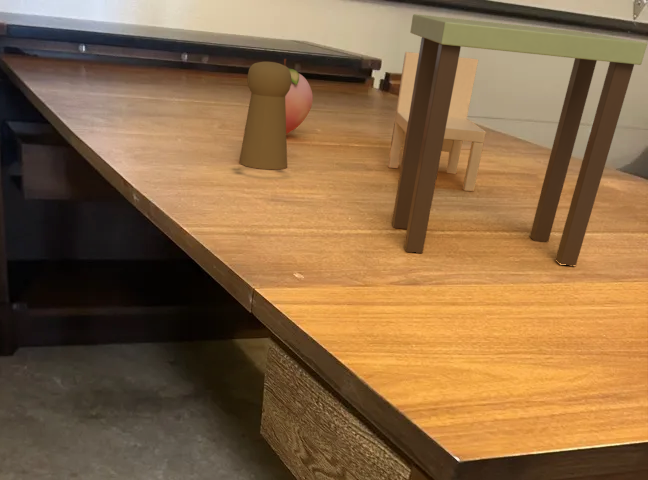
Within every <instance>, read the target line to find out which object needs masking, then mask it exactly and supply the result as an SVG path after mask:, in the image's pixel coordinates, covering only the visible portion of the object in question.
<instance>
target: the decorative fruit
mask: <svg viewBox="0 0 648 480" xmlns="http://www.w3.org/2000/svg"><path fill="white" fill-rule="evenodd" d="M283 65H284V66H286V67H287V58H283ZM289 71H290V73H291V79H292V80H291V87H290V90H289V92H288V93H287V95H286V96H285V106H286V135H287V134H290V133H291V132H293V131H294V130H296V129H297V128H298V127H299V126H300V125H301V124H302V123H303V122H304V121H305V119H306V118H307V117H308V115H309V114H310V111H311V109H312V106H313V101H314V94H313V91H312V87H311V85H310V84H309V82H308V80H307V79H306V77H305V76H303V75H302V74H301V73H299V72H298V70H296V69H293V68H289Z"/></svg>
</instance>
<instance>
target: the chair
mask: <svg viewBox="0 0 648 480" xmlns="http://www.w3.org/2000/svg"><path fill="white" fill-rule="evenodd" d="M418 57H419V52H413V51H405V52H404V58H403V64H402V69H401V70H402V71H401V77H400V84H399V90H398V95H397V96H398V97H397V102H396V110H395V115H394V123H393V129H392V136H391V142H390V148H389V154H388V155H389V156H388V162H387V167H388V168H390V169H391V168H392V169H398V168H399V164H400V157H401V151H402V148H403V149H404V144H405V138H406V132H407V125H408V119H409V113H410V107H411V101H412V95H413V88H414V82H415V76H416V70H417V64H418ZM478 64H479V59H478V58H472V57H471V58H470V57H461V56H459V59H458V65H457V70H456V75H455V81H454V86H453V92H452V97H451V102H450V108H449V113H448V119H447V124H446V129H445V135H444V140H443V146H442V151H441V152H444V153H445V152H446V153H448V158H447V164H446V167H445V169H446V170H445V173H447V174H453V175H456V174H457V172H458V167H459V162H460V157H461V153H462V147H463V142H471V145H470V149H469V154H468V159H467V163H466V164H467V165H466V167H465V174H464V179H463V184H462V190H463V191H464V192H474V191H475V187H476V183H477V179H478V175H479V169H480V164H481V159H482V154H483V150H484V145H485V141H486V135H487V131H486V130H485V129H483V128H482V127H480V126H478V124H476V123H474V122H473V121H472V120H470V119H468V115H469V110H470V104H471V100H472V94H473V89H474V86H475V85H474V84H475V79H476V75H477V74H476V73H477V69H478Z"/></svg>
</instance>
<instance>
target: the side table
mask: <svg viewBox="0 0 648 480" xmlns="http://www.w3.org/2000/svg"><path fill="white" fill-rule="evenodd" d="M411 18H412V19H411V26H410V34H412V35H415V36H418V37H420V39H421V40H420V45H419V52H418V53H419V57H418V64H417V70H416V76H415V82H414V88H413V95H412V101H411V107H410V113H409V119H408V125H407V132H406V138H405V144H404V148H403V150H402V156H401V157H402V158H401V163H400V164H401V165H400V169H399V175H398V182H397V189H396V194H395V201H394V207H393V213H392V219H391V225H392V227H393V228H394V229H402V230H406V233H405V237H404V238H405V239H404V245H403V248H404V250H405V252H406V253H412V252H416V253H415V254H422V253H423V252H424V247H425V244H426V243H425V242H426V236H427V233H428V232H427V231H428V227H429V221H430V216H431V215H430V214H431V210H432V204H433V199H434V193H435V187H436V183H437V178H438V172H439V167H440V161H441V156H442V152H443V151H442V146H443V140H444V135H445V129H446V124H447V119H448V113H449V108H450V102H451V97H452V92H453V86H454V81H455V75H456V70H457V65H458V59H459V57H460V54H461V48H462V47H463V48H470V49H471V48H472V49H481V50H490V51H491V50H492V51H502V52H512V53H520V54H530V55H531V54H532V55H540V56H549V57H558V58H559V57H560V58H570V59H574V61H573V65H572V68H571V72H570V77H569V80H568V85H567V88H566V92H565V97H564V99H563V104H562V108H561V111H560V116H559V120H558V123H557V127H556V131H555V134H554V135H555V136H554V140H553V143H552V147H551V151H550V155H549V159H548V163H547V166H546V171H545V175H544V179H543V183H542V187H541V190H540V194H539V199H538V203H537V205H536V206H537V207H536V210H535V214H534V218H533V222H532V226H531V228H530V229H531V230H530V233H529V238H531V239H532V240H533V241H534V240H535V241H536V242H545V241H548V242H550V237H551V233H552V229H553V225H554V222H555V218H556V214H557V210H558V207H559V203H560V200H561V195H562V192H563V189H564V185H565V181H566V178H567V173H568V170H569V166H570V162H571V159H572V155H573V151H574V148H575V144H576V140H577V136H578V133H579V128H580V125H581V121H582V118H583V114H584V110H585V106H586V102H587V99H588V95H589V91H590V87H591V84H592V80H593V76H594V72H595V69H596V66H597V62H609V63H608V67H607V70H606V75H605V78H604V81H603V84H602V85H603V86H602V89H601V92H600V96H599V100H598V104H597V108H596V110H595V114H594V117H593V121H592V125H591V129H590V132H589V136H588V140H587V143H586V146H585V151H584V154H583V158H582V161H581V164H580V168H579V172H578V176H577V179H576V183H575V187H574V190H573V194H572V198H571V201H570V205H569V208H568V211H567V215H566V220H565V223H564V226H563V229H562V233H561V238H560V241H559V244H558V248H557V252H556V255H555V260H557V261H558V262H559V263H561V264H566V265H576V266H577V263H578V260H579V256H580V253H581V249H582V246H583V242H584V240H585V235H586V231H587V228H588V225H589V221H590V218H591V216H592V215H591V214H592V212H593V208H594V204H595V200H596V199H597V194H598V190H599V187H600V184H601V180H602V176H603V174H604V170H605V168H606V167H605V166H606V163H607V160H608V156H609V152H610V150H611V146H612V143H613V140H614V136H615V133H616V129H617V126H618V122H619V118H620V115H621V112H622V108H623V105H624V101H625V98H626V94H627V91H628V88H629V84H630V81H631V77H632V73H633V70H634V67H635V65H636V66H637V65H638V66H641V65H642V64H643V60H644V57H645V54H646V50H647V46H648V43H647V42H643V41H637V40H632V39H626V38H620V37H613V36H609V35H602V34H597V33H591V32H585V31H578V30H567V29H557V28H548V27H539V26H530V25H521V24H520V25H519V24H511V23H503V22H501V23H500V22H493V21H492V22H491V21H481V20H473V19H464V18H463V19H462V18H454V17H444V16H436V15H435V16H434V15H426V14H417V13H413V14H412V17H411ZM535 241H534V242H535ZM555 260H554V261H555Z"/></svg>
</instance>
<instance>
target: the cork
mask: <svg viewBox="0 0 648 480" xmlns="http://www.w3.org/2000/svg"><path fill="white" fill-rule="evenodd" d="M289 69H290V68H289V67H287V65H286V66H284V64H281V63H278V62H275V61H257V62H254V63H253V64H251V65H250V67H249V69H248V73H247V87H248V89H249V91H250V97H249V103H248V109H247V114H246V115H247V116H246V119H245V121H246V122H245V126H244V133H243V138H242V143H241V149H240V154H239V159H238V163H239V164H240V165H242V166H245V167H248V168H253V169H260V170H262V169H263V170H284V169H287V168H288V148H287V147H288V144H287V143H288V142H287V134H286V106H285V96H286V95H287V93H288V92H289V90H290V87H291V80H292V79H291V73H290V71H289Z"/></svg>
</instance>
